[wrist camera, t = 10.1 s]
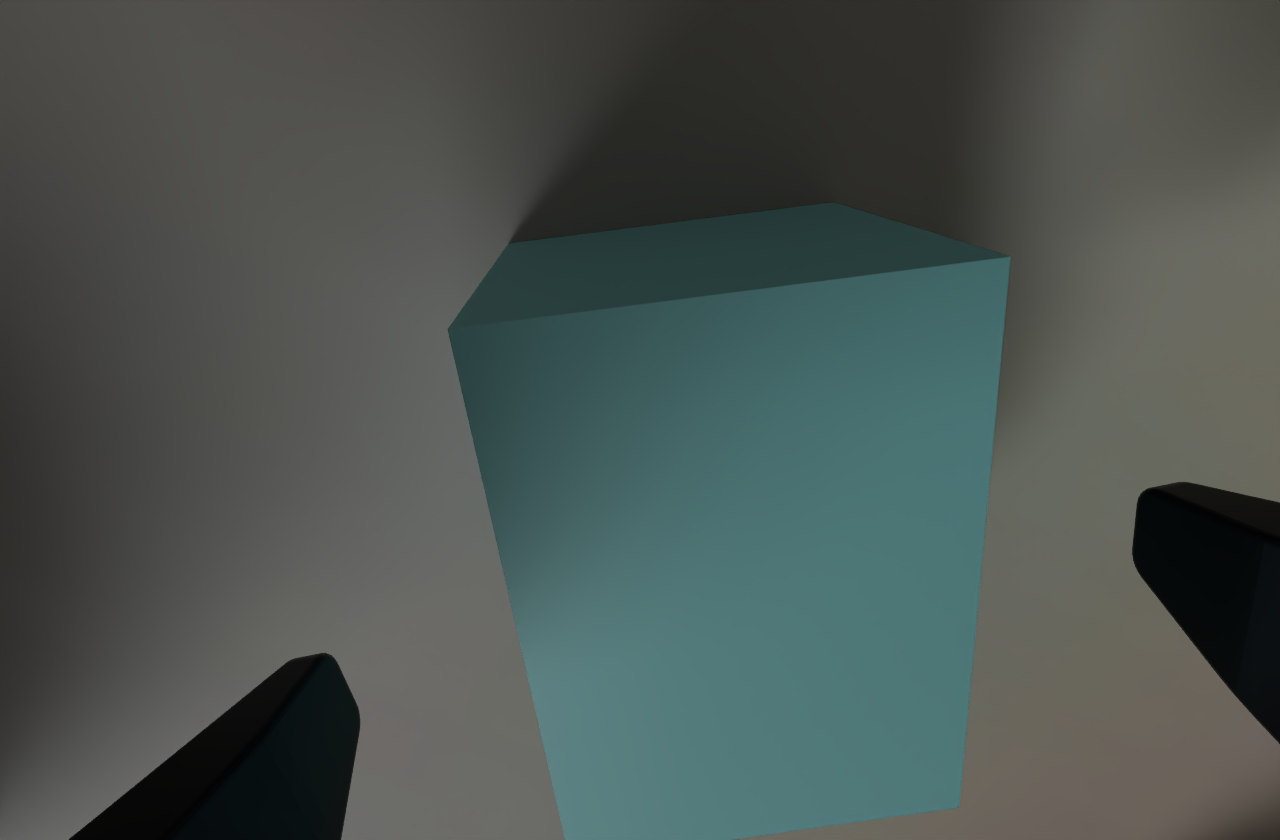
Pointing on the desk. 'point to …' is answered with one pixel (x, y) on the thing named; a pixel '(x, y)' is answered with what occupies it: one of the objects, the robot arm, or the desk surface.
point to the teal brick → (741, 511)
